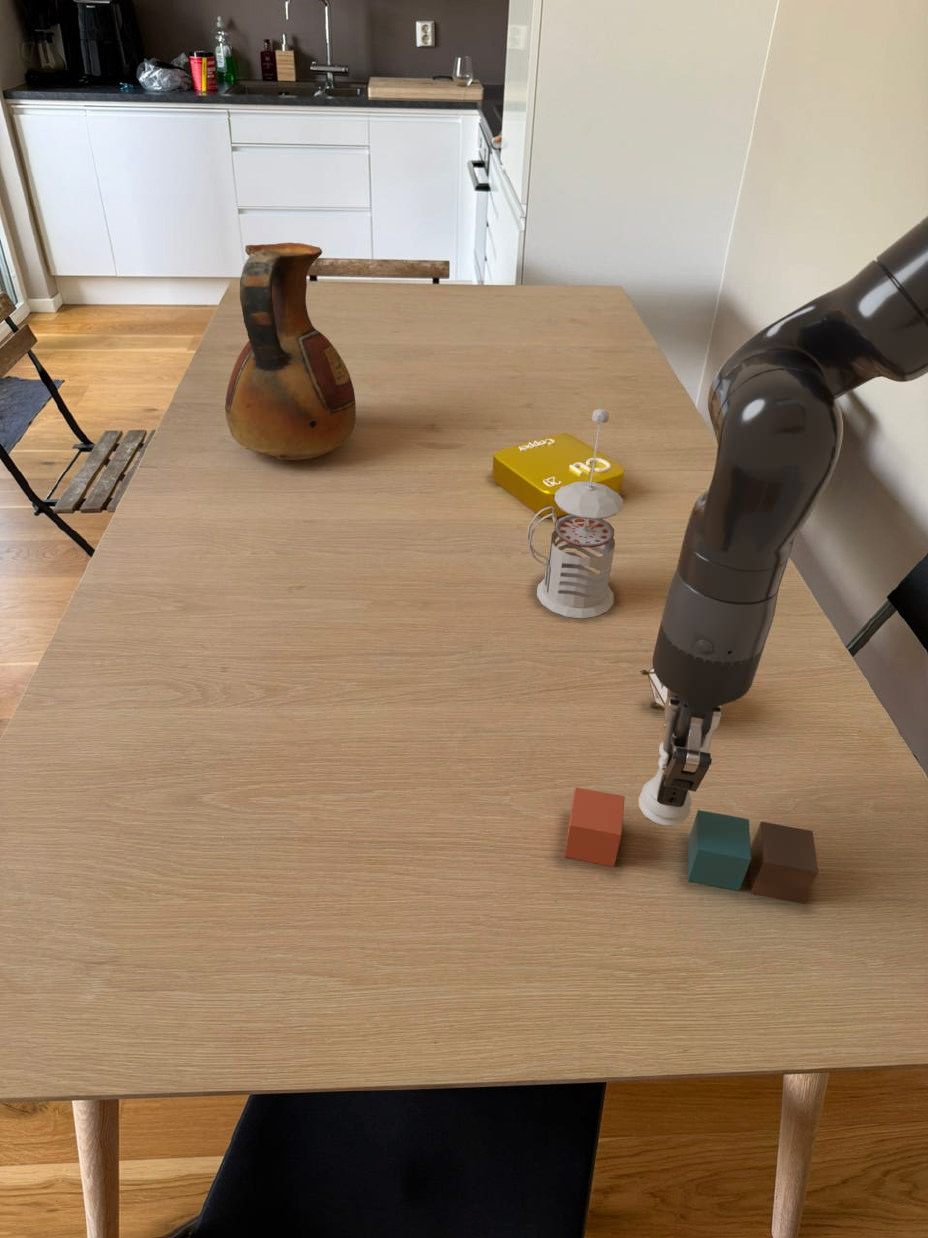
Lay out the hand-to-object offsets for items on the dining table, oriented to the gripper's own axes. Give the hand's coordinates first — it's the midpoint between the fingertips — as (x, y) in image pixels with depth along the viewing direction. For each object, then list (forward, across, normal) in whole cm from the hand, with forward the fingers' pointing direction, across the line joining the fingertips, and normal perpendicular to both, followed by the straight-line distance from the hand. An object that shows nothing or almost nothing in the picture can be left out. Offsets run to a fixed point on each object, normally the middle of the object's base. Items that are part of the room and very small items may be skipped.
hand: (670, 784), depth 75 cm
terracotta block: (+9, 0, +6) cm, 11 cm away
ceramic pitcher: (+10, +67, +59) cm, 90 cm away
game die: (+10, +20, -2) cm, 22 cm away
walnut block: (+9, 0, -11) cm, 14 cm away
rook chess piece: (+3, 0, 0) cm, 3 cm away
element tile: (+10, +65, +17) cm, 68 cm away
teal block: (+9, 0, -6) cm, 11 cm away
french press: (+10, +38, +12) cm, 41 cm away
